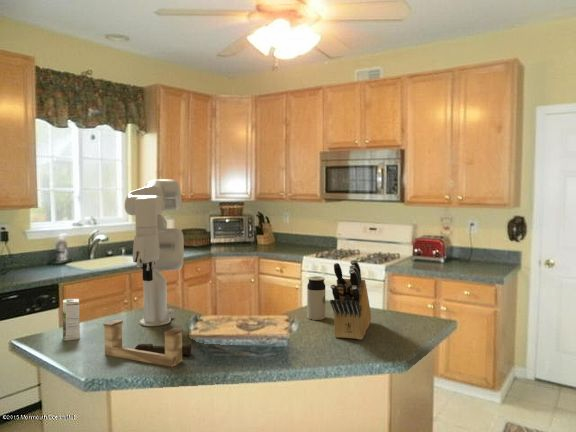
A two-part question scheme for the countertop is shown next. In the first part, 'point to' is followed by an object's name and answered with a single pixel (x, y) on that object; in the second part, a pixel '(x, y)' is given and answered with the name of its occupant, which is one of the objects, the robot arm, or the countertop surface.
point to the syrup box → (71, 319)
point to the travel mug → (316, 298)
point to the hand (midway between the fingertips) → (147, 280)
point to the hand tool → (162, 348)
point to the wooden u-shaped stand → (115, 349)
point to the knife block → (350, 304)
